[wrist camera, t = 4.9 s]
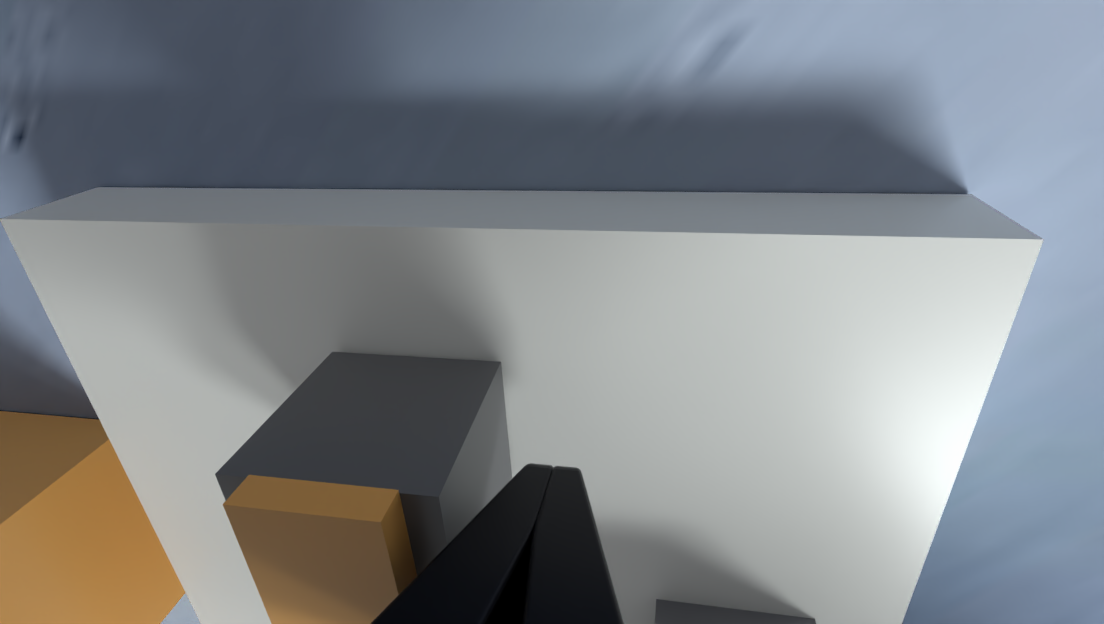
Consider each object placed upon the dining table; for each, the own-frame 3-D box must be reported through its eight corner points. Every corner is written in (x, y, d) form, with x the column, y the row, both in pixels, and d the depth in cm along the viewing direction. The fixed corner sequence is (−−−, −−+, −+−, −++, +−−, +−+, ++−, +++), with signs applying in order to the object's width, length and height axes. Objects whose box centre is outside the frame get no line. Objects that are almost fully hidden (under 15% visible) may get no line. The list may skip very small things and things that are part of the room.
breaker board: (972, 194, 9) (1251, 369, 5) (818, 707, 16) (877, 981, 11) (97, 187, 12) (-235, 294, 7) (276, 627, 18) (154, 822, 14)
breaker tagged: (500, 359, 10) (422, 527, 6) (512, 479, 11) (451, 668, 8) (332, 348, 10) (184, 500, 7) (360, 464, 11) (247, 636, 8)
